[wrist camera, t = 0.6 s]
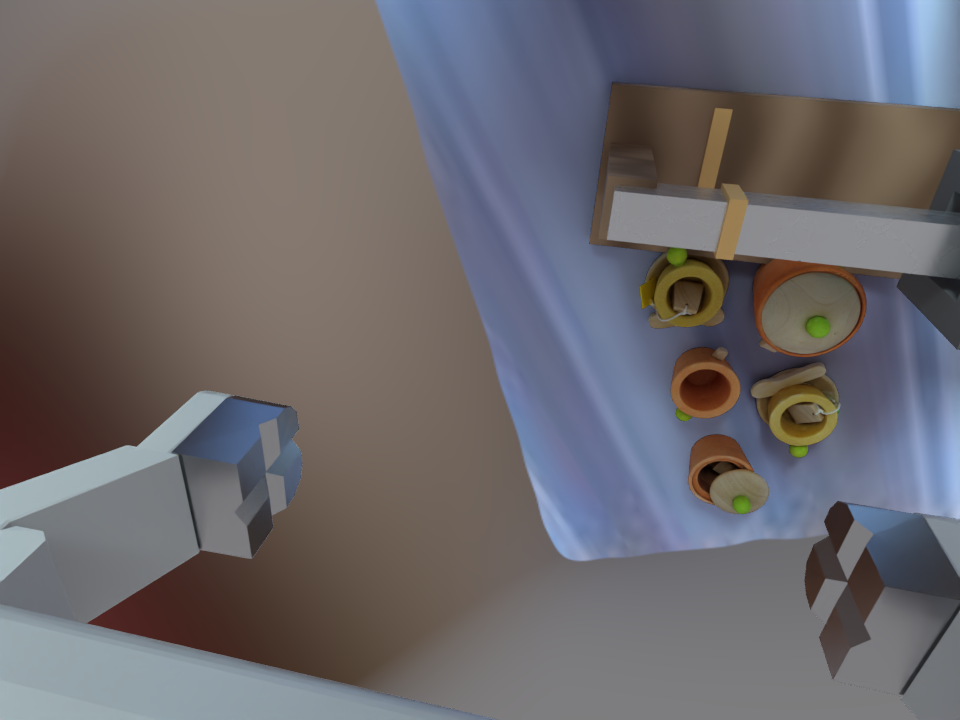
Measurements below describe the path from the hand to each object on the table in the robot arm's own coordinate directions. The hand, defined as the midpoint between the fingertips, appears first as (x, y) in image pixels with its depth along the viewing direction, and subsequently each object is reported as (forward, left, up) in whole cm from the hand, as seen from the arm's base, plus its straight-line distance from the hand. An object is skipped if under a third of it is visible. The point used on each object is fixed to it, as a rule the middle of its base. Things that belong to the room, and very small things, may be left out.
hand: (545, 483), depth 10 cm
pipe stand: (+5, +15, -44) cm, 47 cm away
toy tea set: (+21, +15, -45) cm, 52 cm away
